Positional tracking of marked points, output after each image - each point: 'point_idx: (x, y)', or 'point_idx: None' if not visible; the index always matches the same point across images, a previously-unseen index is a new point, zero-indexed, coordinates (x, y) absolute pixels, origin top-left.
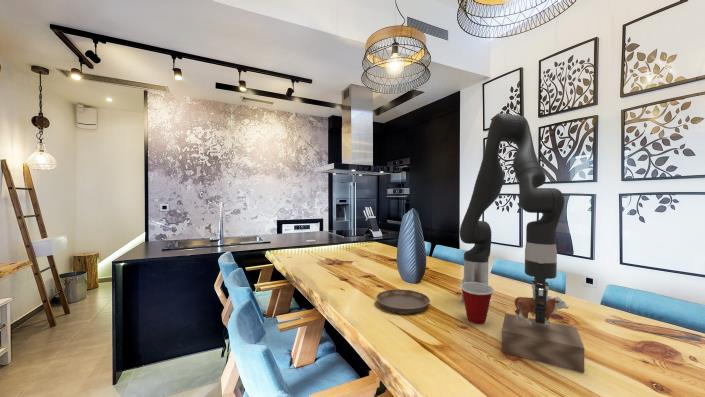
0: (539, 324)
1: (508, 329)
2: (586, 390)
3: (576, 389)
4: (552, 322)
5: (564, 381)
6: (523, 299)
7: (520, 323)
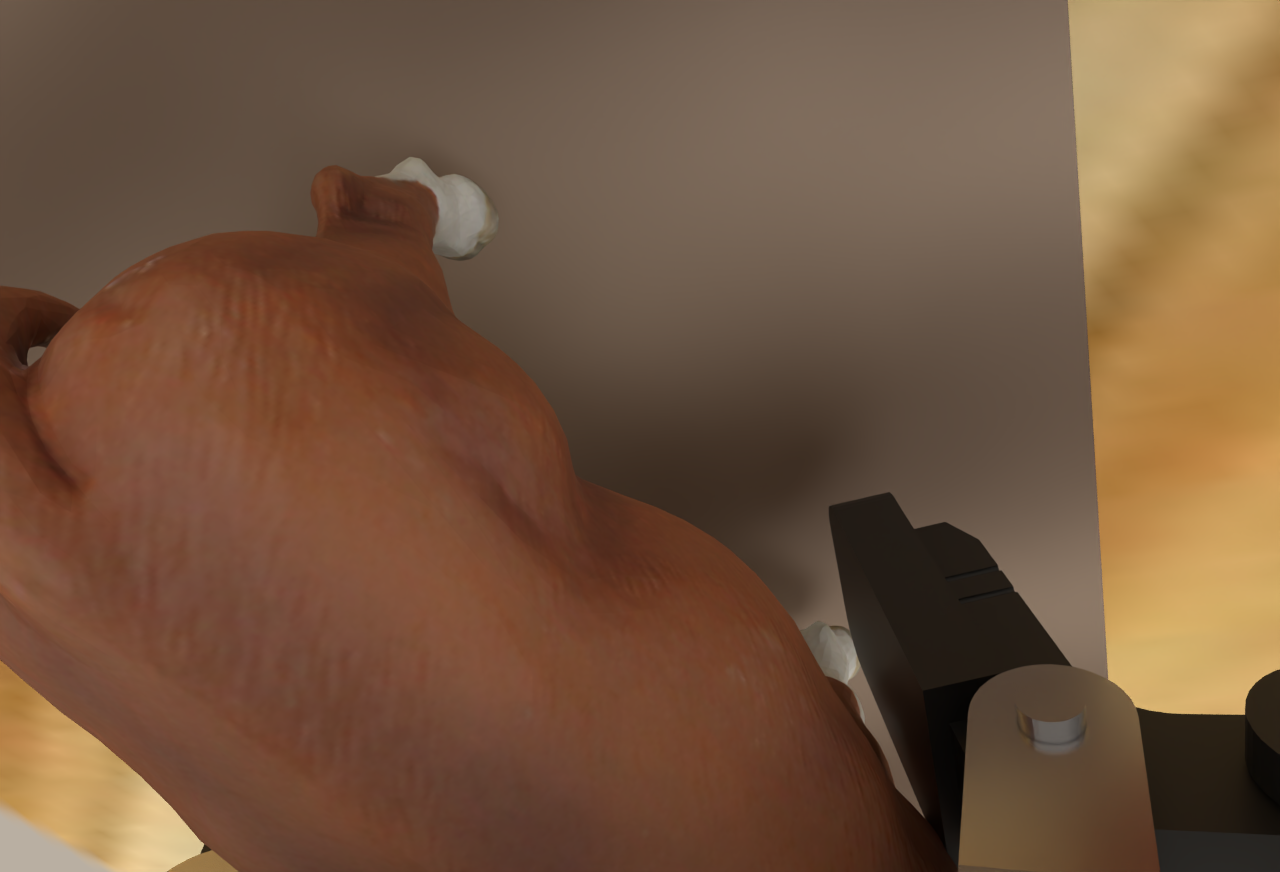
0: (818, 477)
1: (5, 88)
2: (74, 849)
3: (6, 797)
4: (1091, 608)
5: (52, 709)
6: (83, 695)
7: (589, 189)
